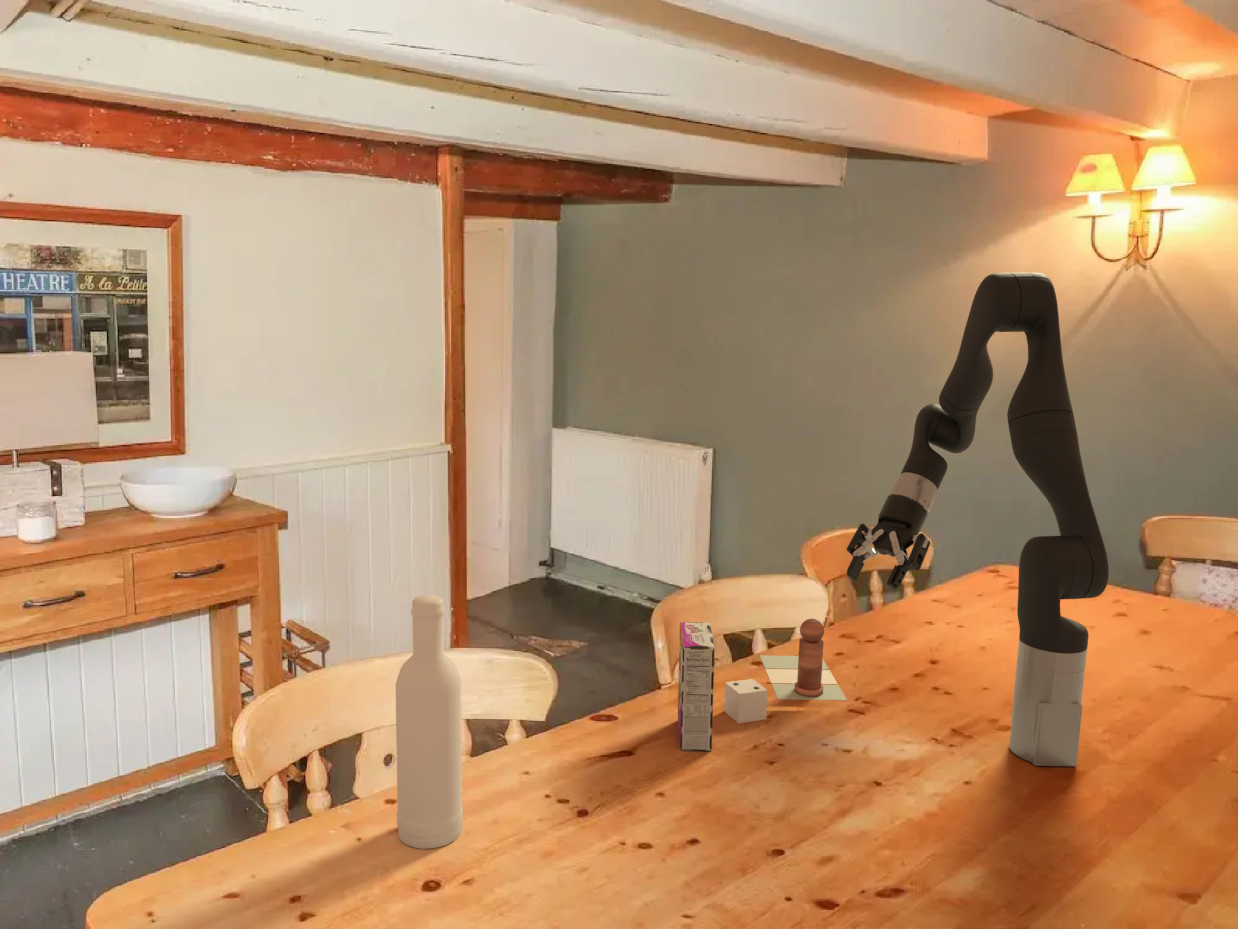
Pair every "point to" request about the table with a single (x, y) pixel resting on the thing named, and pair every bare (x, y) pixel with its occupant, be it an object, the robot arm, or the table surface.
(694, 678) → the candy bar box
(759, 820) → the table surface
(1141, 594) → the table surface
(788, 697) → the board
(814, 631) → the pawn
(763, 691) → the die
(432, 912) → the table surface
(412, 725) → the bottle
